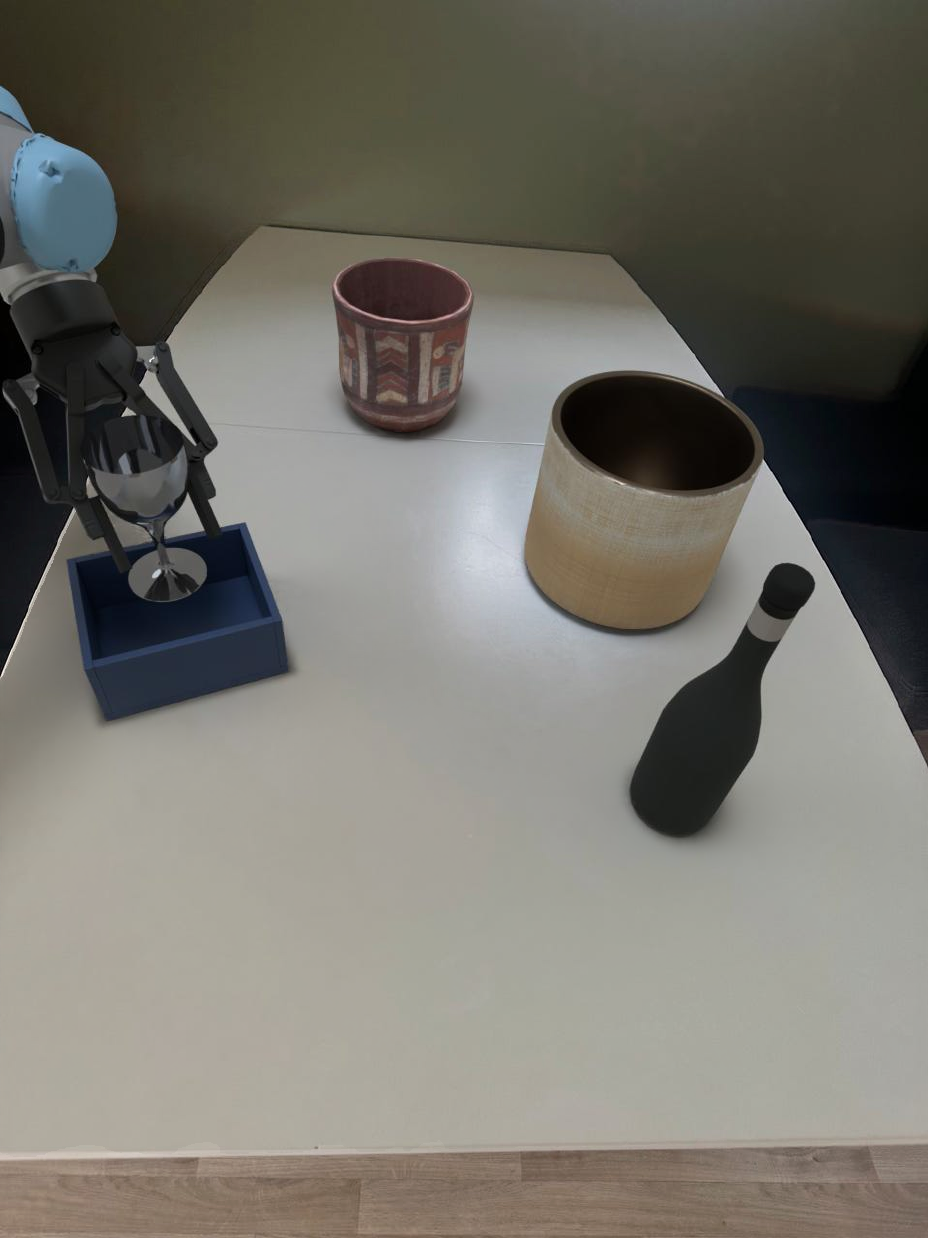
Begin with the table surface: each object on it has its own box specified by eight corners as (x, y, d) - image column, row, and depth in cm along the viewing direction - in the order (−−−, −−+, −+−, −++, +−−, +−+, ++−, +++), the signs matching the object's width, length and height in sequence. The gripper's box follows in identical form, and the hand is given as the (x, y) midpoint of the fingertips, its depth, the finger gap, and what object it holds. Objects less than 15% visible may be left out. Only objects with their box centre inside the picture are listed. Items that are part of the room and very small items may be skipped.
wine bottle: (638, 751, 79) (743, 522, 56) (718, 780, 77) (858, 557, 55) (619, 819, 73) (725, 597, 51) (703, 852, 72) (851, 637, 50)
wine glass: (130, 614, 72) (86, 483, 61) (117, 555, 76) (73, 424, 65) (220, 592, 74) (193, 463, 63) (201, 537, 79) (173, 407, 68)
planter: (743, 598, 94) (813, 460, 79) (594, 664, 86) (641, 523, 71) (627, 489, 106) (669, 351, 91) (487, 537, 97) (508, 393, 83)
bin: (106, 721, 76) (83, 669, 70) (87, 613, 84) (65, 558, 78) (288, 671, 81) (282, 619, 76) (253, 575, 90) (245, 521, 84)
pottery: (353, 454, 106) (351, 328, 93) (325, 382, 117) (319, 259, 103) (478, 438, 111) (493, 315, 97) (440, 370, 122) (448, 251, 108)
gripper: (166, 286, 73) (266, 519, 77) (-77, 339, 64) (51, 600, 68) (180, 251, 67) (289, 508, 71) (-89, 305, 58) (53, 597, 62)
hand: (172, 553), depth 70 cm, fingers closed on wine glass, 7 cm apart
